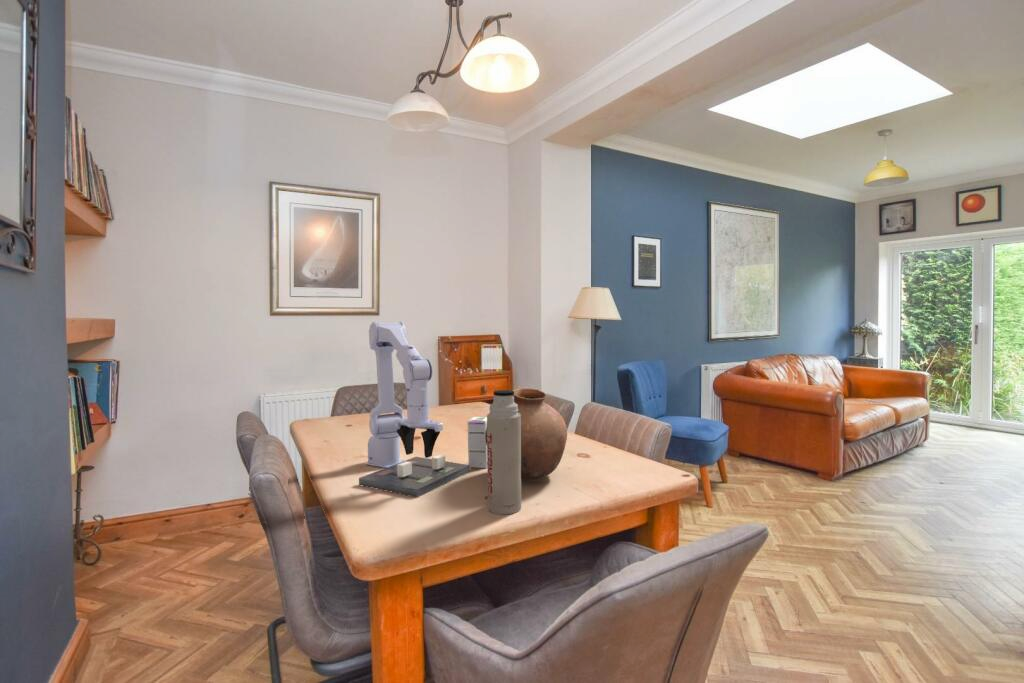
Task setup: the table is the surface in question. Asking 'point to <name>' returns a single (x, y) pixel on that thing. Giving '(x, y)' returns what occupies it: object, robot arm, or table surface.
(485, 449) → the syrup box
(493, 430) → the thermos bottle
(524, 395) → the pottery
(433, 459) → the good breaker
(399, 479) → the breaker panel
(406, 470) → the beige rectangular block
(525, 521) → the table surface
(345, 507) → the table surface
